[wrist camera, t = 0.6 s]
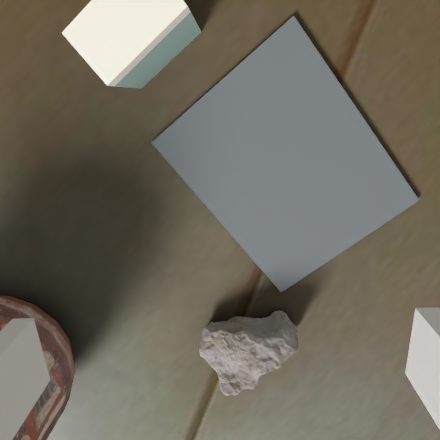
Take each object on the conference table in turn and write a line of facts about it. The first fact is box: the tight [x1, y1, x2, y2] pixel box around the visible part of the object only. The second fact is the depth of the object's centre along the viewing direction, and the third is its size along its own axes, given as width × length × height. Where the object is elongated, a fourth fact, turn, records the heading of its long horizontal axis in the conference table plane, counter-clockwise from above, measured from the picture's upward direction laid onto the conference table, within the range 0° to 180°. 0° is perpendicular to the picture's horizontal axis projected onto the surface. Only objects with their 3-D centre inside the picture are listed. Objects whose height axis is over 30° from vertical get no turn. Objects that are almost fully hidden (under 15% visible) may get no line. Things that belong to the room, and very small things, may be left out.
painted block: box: [62, 0, 201, 89], centre depth 26 cm, size 4×7×9 cm, turn 130°
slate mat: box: [151, 16, 419, 293], centre depth 33 cm, size 20×16×1 cm
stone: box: [199, 311, 298, 396], centre depth 37 cm, size 10×8×6 cm
